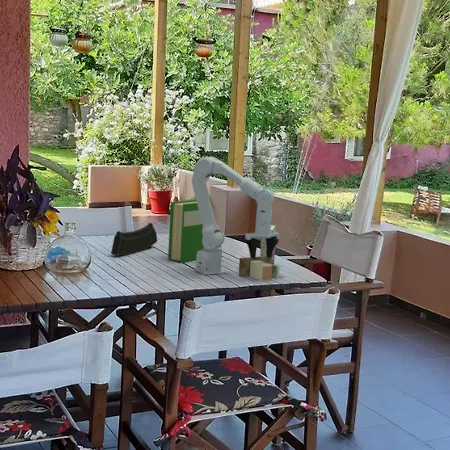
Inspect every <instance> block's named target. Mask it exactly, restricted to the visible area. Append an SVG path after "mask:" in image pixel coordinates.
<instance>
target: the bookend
mask: <svg viewBox="0 0 450 450" xmlns="http://www.w3.org/2000/svg"><path fill="white" fill-rule="evenodd" d="M268 264H270V263H268ZM271 265H272V275H271V278H274V279H283V278H286V277H285V275H281V274H280V266H279V265H276V264H274V265H273V264H271Z"/></svg>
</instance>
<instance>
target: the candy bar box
mask: <svg viewBox="0 0 450 450" xmlns="http://www.w3.org/2000/svg"><path fill="white" fill-rule="evenodd" d="M271 232H277V225H272V224H271ZM266 249H267V246H266V239H260V250H259V251H260V252H259V253H260V254H259V256H266ZM275 253H276V247H275V248H274V250H273V253H272V256H271V257H270V264H273V265H275V260H276V259H275V257H276V254H275Z"/></svg>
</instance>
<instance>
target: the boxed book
mask: <svg viewBox="0 0 450 450" xmlns="http://www.w3.org/2000/svg"><path fill="white" fill-rule="evenodd" d="M271 275H272V265H271V264H268V263H265V262H262V261H259V260H258V261H250V276H249V277H250V278H253V279H255V280H257V281H261V282H269V281H272V276H271Z"/></svg>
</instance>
